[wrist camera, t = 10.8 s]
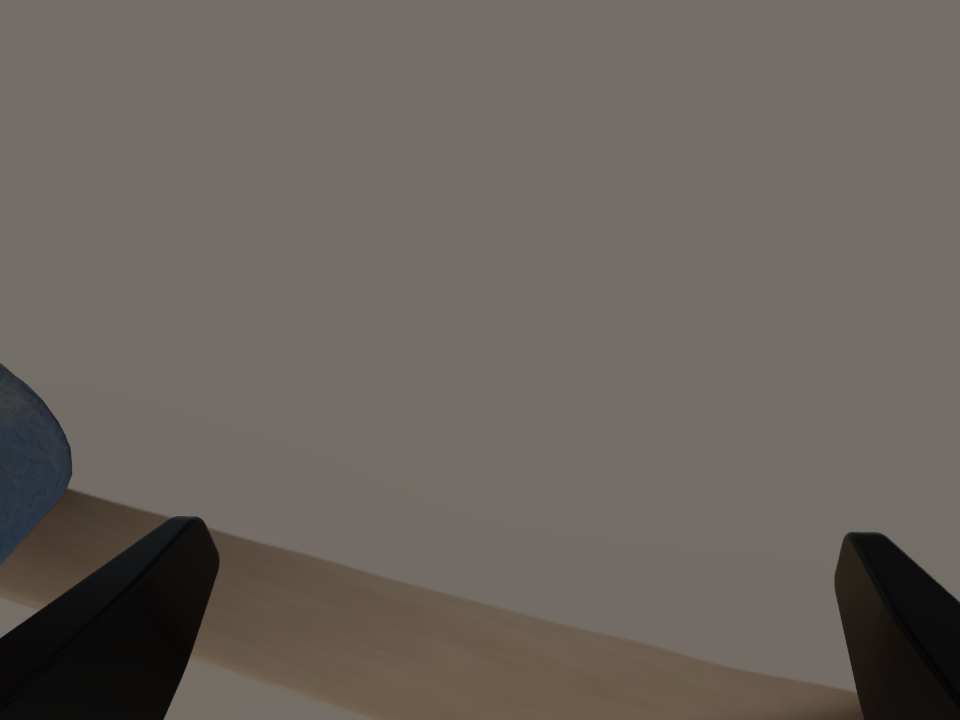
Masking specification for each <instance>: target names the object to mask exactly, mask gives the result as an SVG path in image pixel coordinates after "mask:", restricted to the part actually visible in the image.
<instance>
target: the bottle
mask: <svg viewBox="0 0 960 720" xmlns="http://www.w3.org/2000/svg"><path fill="white" fill-rule="evenodd" d="M71 475H72V460H71V450H70V446H69V444H68V441H67V439H66V435H65V434H64V432H63V430H62V428H61V426H60V424H59V422H58V421H57V420H56V418H55V417H54V415H53V414H52V413H51V411H50V410H49V408H48V407H47V406H46V404H45V403H44V401H43V400H42V399H41V398H40V397H39V396H38V395H37V394H36V393H35V392H34V391H33V390H32V389H31V388H30V387H29V386H28V385H27V384H25V383H24V382H23V381H22V380H20V379H19V378H17V377H16V376H15V375H13V374H12V373H11V372H10V371H9V370H8V369H7V368H5V367H4V366H3V365H2V364H0V566H1V564H2V563H3V562H4V561H5V559H6V558H7V557H8V556H9V555H10V554H11V553H12V551H13V550H14V549H15V548H16V547H17V546H18V545H19V544H20V543H21V542H22V541H23V539H24V538H25V537H26V536H27V535H28V534H29V533H30V532H31V531H32V529H33V528H34V527H35V526H36V525H37V524H38V522H39V521H40V520H41V519H42V518H43V517H44V516H45V515H46V514H47V513H48V512H49V511H50V509H51V508H52V507H53V506H54V505H55V504H56V503H57V501H58V500H59V499H60V498H61V496H62V495H63V494H64V493H65V491H66V488H67V486H68V483H69V480H70V478H71Z"/></svg>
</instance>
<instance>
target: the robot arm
mask: <svg viewBox="0 0 960 720" xmlns="http://www.w3.org/2000/svg"><path fill="white" fill-rule="evenodd" d="M218 569H219V553H218V550H217V548H216V546H215V544H214V542H213V540H212V537H211V535H210V533H209V531H208V529H207V526H206V524H205V523H204V521H203V520H202V519H201V518H199V517H187V516H177V517H173V518H171V519H169V520H167V521H166V522H164V523H163V524H162V525H160V526H159V527H157V528H156V529H155V530H153V531H152V532H150V533H149V534H147V535H146V536H145V537H143V538H142V539H140V540H139V541H138V542H136V543H135V544H133V545H132V546H130V547H129V548H128V549H126V550H125V551H123V552H122V553H121V554H119V555H118V556H116V557H115V558H113V559H112V560H111V561H109V562H108V563H106V564H105V565H104V566H102V567H101V568H99V569H98V570H96V571H95V572H94V573H92V574H91V575H89V576H88V577H87V578H85V579H84V580H82V581H81V582H79V583H78V584H77V585H75V586H74V587H72V588H71V589H70V590H68V591H67V592H65V593H64V594H62V595H61V596H60V597H58V598H57V599H55V600H54V601H53V602H51V603H50V604H48V605H47V606H45V607H44V608H43V609H41V610H40V611H38V612H37V613H36V614H34V615H33V616H31V617H30V618H28V619H27V620H26V621H24V622H23V623H21V624H20V625H18V626H17V627H16V628H14V629H13V630H11V631H10V632H9V633H7V634H6V635H4V636H3V637H2V638H0V720H164V717H165V715H166V713H167V711H168V708H169V706H170V703H171V701H172V699H173V697H174V695H175V692H176V690H177V687H178V685H179V683H180V681H181V678H182V676H183V674H184V671H185V669H186V666H187V664H188V661H189V658H190V655H191V652H192V650H193V647H194V644H195V641H196V637H197V634H198V631H199V628H200V625H201V622H202V619H203V616H204V613H205V610H206V607H207V604H208V601H209V597H210V594H211V591H212V588H213V585H214V582H215V579H216V576H217V573H218ZM834 582H835V593H836V597H837V602H838V606H839V611H840V616H841V620H842V625H843V630H844V634H845V638H846V643H847V648H848V653H849V657H850V662H851V666H852V671H853V675H854V680H855V684H856V689H857V693H858V698H859V702H860V706H861V710H862V713H863V716H864V720H960V602H959V601H958V600H957V599H956V598H955V597H954V596H953V595H952V594H950V593H949V592H948V591H947V590H946V589H945V588H944V587H942V586H941V585H940V584H939V583H938V582H937V581H936V580H935V579H934V578H933V577H931V576H930V575H929V574H928V573H927V572H926V571H925V570H923V569H922V568H921V567H920V566H919V565H918V564H917V563H916V562H915V561H914V560H912V559H911V558H910V557H909V556H908V555H907V554H906V553H905V552H903V551H902V550H901V549H900V548H899V547H898V546H897V545H896V544H894V543H893V542H892V541H891V540H890V539H889V538H888V537H886V536H885V535H883V534H881V533H876V532H849V533H847V534H846V535H845V537H844V539H843V543H842V547H841V551H840V556H839V559H838V563H837V568H836V572H835V580H834Z"/></svg>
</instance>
